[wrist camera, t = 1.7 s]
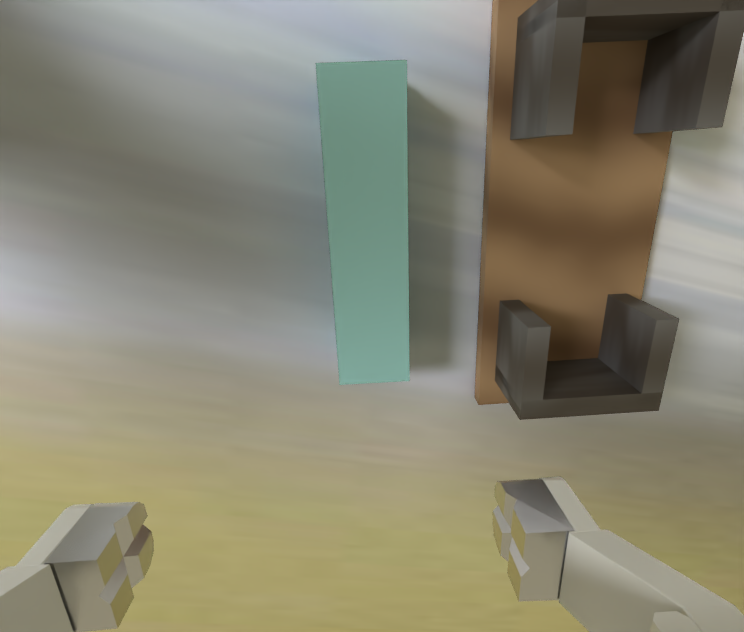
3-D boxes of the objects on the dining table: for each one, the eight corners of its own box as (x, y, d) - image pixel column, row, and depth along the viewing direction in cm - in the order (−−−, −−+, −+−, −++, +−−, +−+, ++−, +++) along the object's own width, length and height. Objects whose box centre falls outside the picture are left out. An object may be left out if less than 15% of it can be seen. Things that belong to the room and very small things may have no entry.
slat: (322, 80, 23) (315, 63, 18) (397, 78, 23) (406, 59, 19) (341, 351, 28) (339, 384, 24) (401, 347, 28) (409, 380, 24)
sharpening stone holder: (493, -18, 21) (538, -75, 16) (688, -26, 21) (794, -83, 16) (474, 396, 30) (500, 447, 24) (614, 388, 30) (669, 435, 25)
